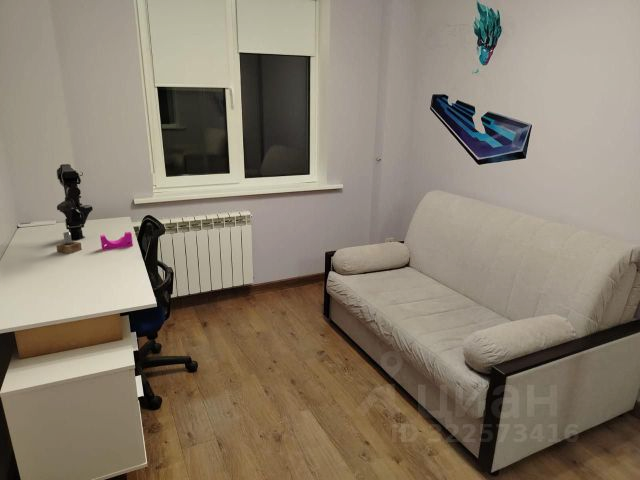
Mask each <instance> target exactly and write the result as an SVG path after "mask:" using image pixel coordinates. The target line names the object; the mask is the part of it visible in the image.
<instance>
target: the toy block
mask: <svg viewBox="0 0 640 480" xmlns="http://www.w3.org/2000/svg"><path fill="white" fill-rule="evenodd" d="M99 237H100V243H101V249H102V251H106V250H107V251H108V250H115V249H121V248H128V247H133V246H134V243H133V236H132V232H131V231H124V235H123V236H121V237H120V238H119V239H115V240H109V239H108V238H107V237H106V235H105V234H101V235H100V236H99Z"/></svg>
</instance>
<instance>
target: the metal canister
mask: <svg viewBox="0 0 640 480" xmlns="http://www.w3.org/2000/svg"><path fill="white" fill-rule="evenodd" d="M63 240H64V242H65V245H71V244H72V242H73V241H72V239H71V234H70V232H69V231H65V232H63Z"/></svg>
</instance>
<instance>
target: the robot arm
mask: <svg viewBox="0 0 640 480" xmlns="http://www.w3.org/2000/svg"><path fill="white" fill-rule="evenodd" d="M56 177H57V180H59V181H58V182H59V184H60V185H61V186H62V187H63V191H64V196H65V197H64V200H63V201H61V202H60V203H58V204H57V206H56V210H57V211H59V212H60V213H62V214H63V215H64V216H65V220H64V221H65V228H66V230H68V232H70V234H71V240H73V241H78V240H81V239H84V238H86V237H85V235H84V234H83V229H82V228H85V225H86V223H87V219H88V216H89V215H90V213H91V212H92V211H93V206H92V205H89V204H83V203H81V199H82V196H81V193H82V192H81V189H80V188H79V186H78V185H81V182H82V180H81V176H80V174H79V172H77V170H76V169H74V168H72V166H71V164H69V163H65V164H63V163H62V164H60V165H59V167H58V168H57V170H56Z"/></svg>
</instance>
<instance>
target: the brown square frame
mask: <svg viewBox="0 0 640 480" xmlns="http://www.w3.org/2000/svg"><path fill="white" fill-rule="evenodd" d="M55 247H56V251H57V253H59V254H60V253H61V254H66V255H71V254H74V253H77V252H80V251H82V250H83V248H82V247H83V246H82V243H81V242H79V241H72V244H71V245H65V241H64V242H62V243H58V244H55Z"/></svg>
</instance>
